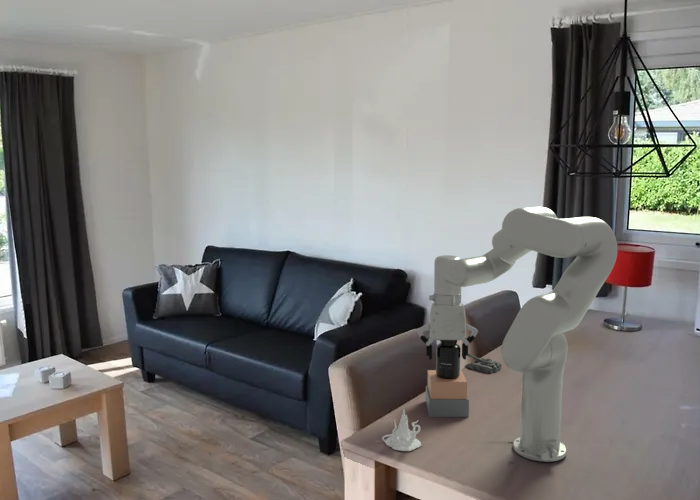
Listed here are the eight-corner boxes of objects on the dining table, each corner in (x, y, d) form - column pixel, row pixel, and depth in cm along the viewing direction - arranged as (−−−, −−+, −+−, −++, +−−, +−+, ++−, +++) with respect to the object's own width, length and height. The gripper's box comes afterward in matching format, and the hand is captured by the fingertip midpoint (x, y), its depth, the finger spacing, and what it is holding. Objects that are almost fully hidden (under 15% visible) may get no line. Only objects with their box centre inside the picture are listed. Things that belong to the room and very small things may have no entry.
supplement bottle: (441, 380, 167) (442, 339, 166) (432, 373, 174) (432, 333, 172) (464, 378, 169) (464, 337, 167) (453, 370, 176) (454, 331, 174)
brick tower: (468, 417, 167) (469, 382, 166) (429, 416, 167) (429, 382, 166) (462, 402, 178) (463, 369, 177) (425, 401, 178) (425, 369, 177)
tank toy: (460, 370, 207) (460, 356, 207) (474, 364, 214) (474, 350, 214) (491, 378, 199) (491, 363, 199) (504, 371, 206) (505, 356, 206)
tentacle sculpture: (398, 430, 159) (398, 397, 158) (433, 445, 150) (433, 410, 149) (374, 441, 153) (374, 406, 152) (409, 457, 144) (409, 420, 143)
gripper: (417, 302, 165) (417, 362, 167) (480, 302, 164) (479, 362, 167) (415, 296, 172) (415, 354, 175) (476, 296, 172) (475, 354, 174)
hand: (446, 358), depth 171 cm, fingers open, 9 cm apart
